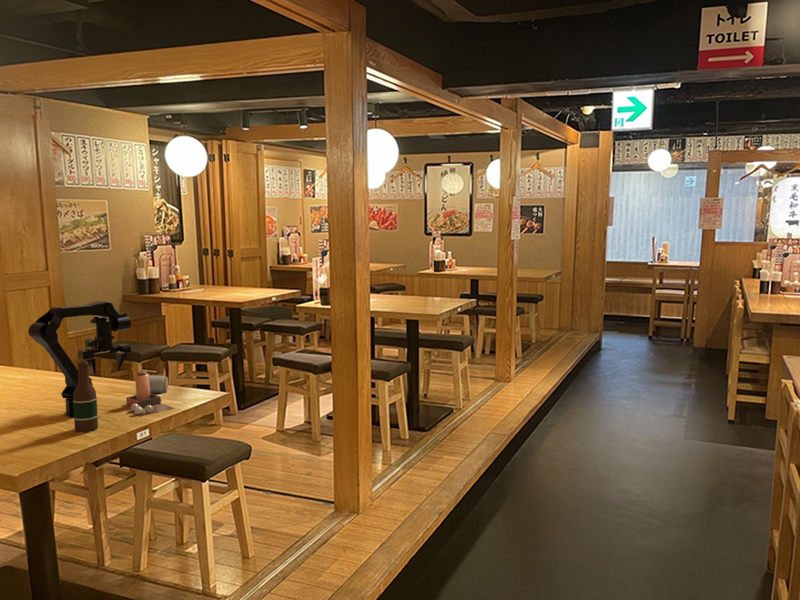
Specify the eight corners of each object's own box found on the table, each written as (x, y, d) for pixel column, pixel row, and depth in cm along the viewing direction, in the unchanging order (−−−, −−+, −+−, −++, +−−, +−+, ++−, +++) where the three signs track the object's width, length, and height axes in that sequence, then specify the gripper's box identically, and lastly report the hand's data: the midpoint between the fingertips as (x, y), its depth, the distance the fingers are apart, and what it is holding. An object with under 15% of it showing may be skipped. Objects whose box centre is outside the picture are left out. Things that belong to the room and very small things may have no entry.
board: (140, 418, 229) (139, 416, 229) (126, 413, 236) (126, 411, 236) (175, 410, 240) (175, 408, 240) (161, 405, 246) (161, 403, 246)
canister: (144, 406, 242) (142, 374, 240) (133, 405, 244) (131, 373, 242) (153, 403, 247) (151, 371, 245) (143, 402, 248) (141, 370, 247)
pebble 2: (136, 416, 230) (136, 408, 229) (132, 414, 232) (132, 406, 231) (144, 414, 232) (144, 406, 232) (140, 412, 234) (140, 404, 234)
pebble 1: (133, 413, 233) (132, 405, 233) (129, 411, 235) (129, 403, 235) (141, 411, 236) (140, 403, 235) (137, 409, 238) (136, 402, 237)
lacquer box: (138, 410, 239) (137, 401, 238) (126, 406, 245) (126, 397, 244) (160, 405, 246) (160, 396, 245) (149, 401, 252) (148, 392, 251)
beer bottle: (92, 424, 223) (89, 358, 220) (103, 429, 218) (99, 361, 215) (69, 429, 217) (65, 361, 214) (80, 434, 212) (76, 365, 209)
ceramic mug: (166, 394, 261) (165, 376, 260) (145, 395, 259) (144, 377, 259) (169, 388, 272) (169, 371, 271) (149, 389, 270) (149, 372, 269)
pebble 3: (147, 414, 232) (146, 406, 231) (143, 413, 234) (142, 405, 233) (154, 412, 234) (154, 405, 234) (150, 411, 236) (150, 403, 236)
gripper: (118, 328, 254) (120, 365, 256) (70, 334, 240) (72, 373, 242) (131, 331, 247) (133, 370, 249) (82, 337, 233) (85, 378, 235)
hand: (106, 372), depth 244 cm, fingers open, 9 cm apart
